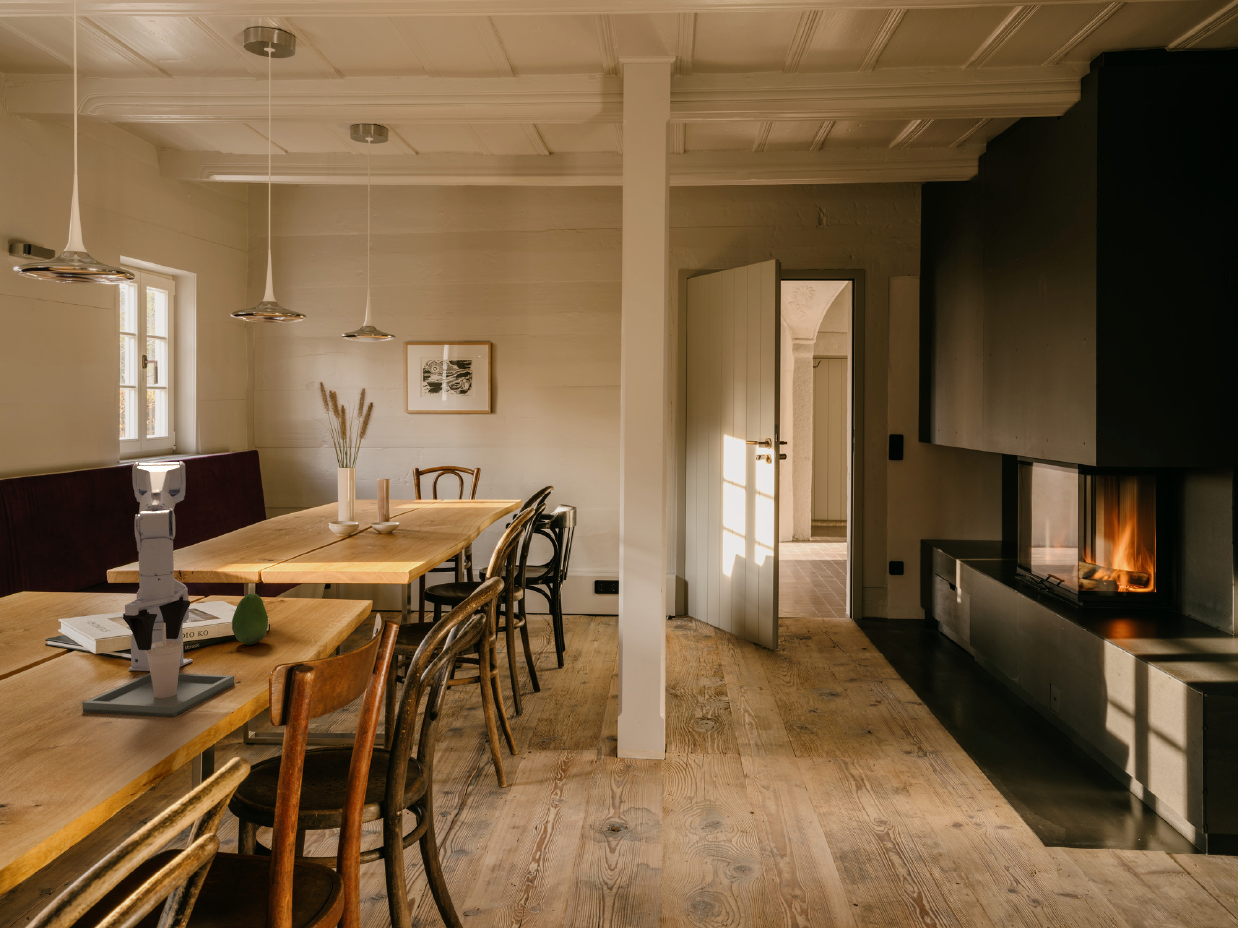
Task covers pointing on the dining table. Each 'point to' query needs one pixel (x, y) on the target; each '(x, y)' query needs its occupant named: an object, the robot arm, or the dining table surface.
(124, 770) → the dining table surface
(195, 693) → the tray
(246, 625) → the avocado
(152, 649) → the smoothie
